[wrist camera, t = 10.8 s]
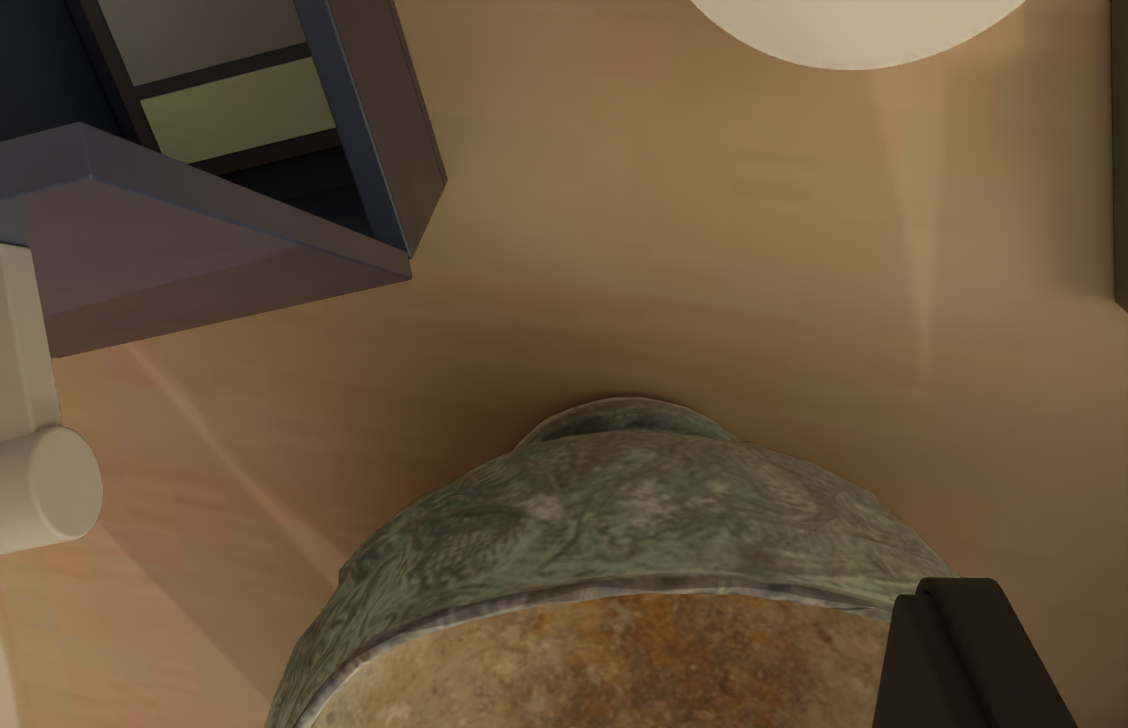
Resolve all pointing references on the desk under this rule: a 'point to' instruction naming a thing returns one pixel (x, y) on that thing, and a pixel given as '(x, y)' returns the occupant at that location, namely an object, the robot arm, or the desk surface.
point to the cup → (854, 28)
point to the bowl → (615, 590)
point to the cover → (131, 290)
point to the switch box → (1120, 146)
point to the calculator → (215, 80)
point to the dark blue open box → (310, 183)
